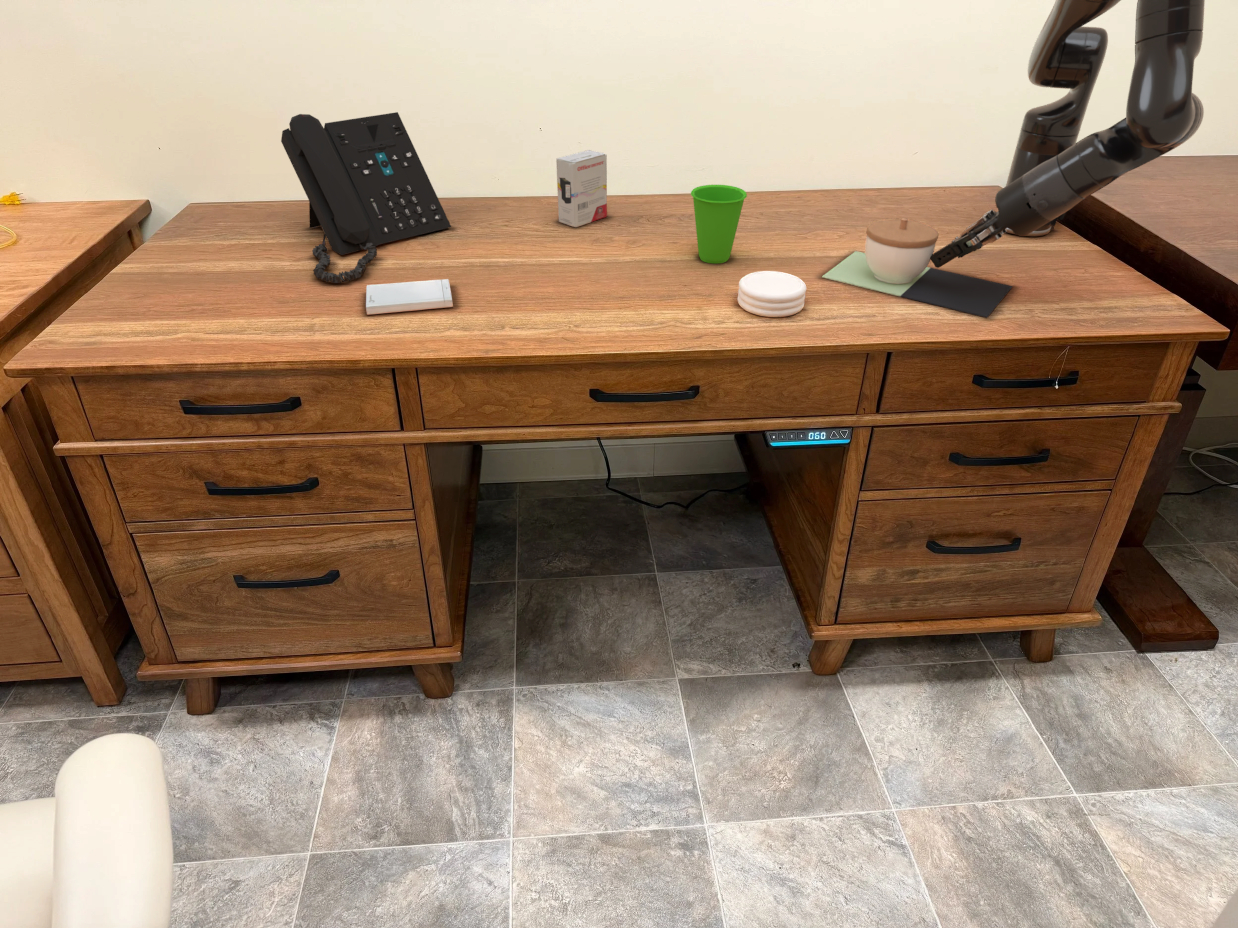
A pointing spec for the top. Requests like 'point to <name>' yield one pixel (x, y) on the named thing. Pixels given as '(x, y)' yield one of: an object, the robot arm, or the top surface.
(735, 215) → the cup
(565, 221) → the ink box
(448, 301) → the hard drive
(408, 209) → the office phone
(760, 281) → the white round stack
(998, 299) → the runner mat
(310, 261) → the top surface
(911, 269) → the trinket box
